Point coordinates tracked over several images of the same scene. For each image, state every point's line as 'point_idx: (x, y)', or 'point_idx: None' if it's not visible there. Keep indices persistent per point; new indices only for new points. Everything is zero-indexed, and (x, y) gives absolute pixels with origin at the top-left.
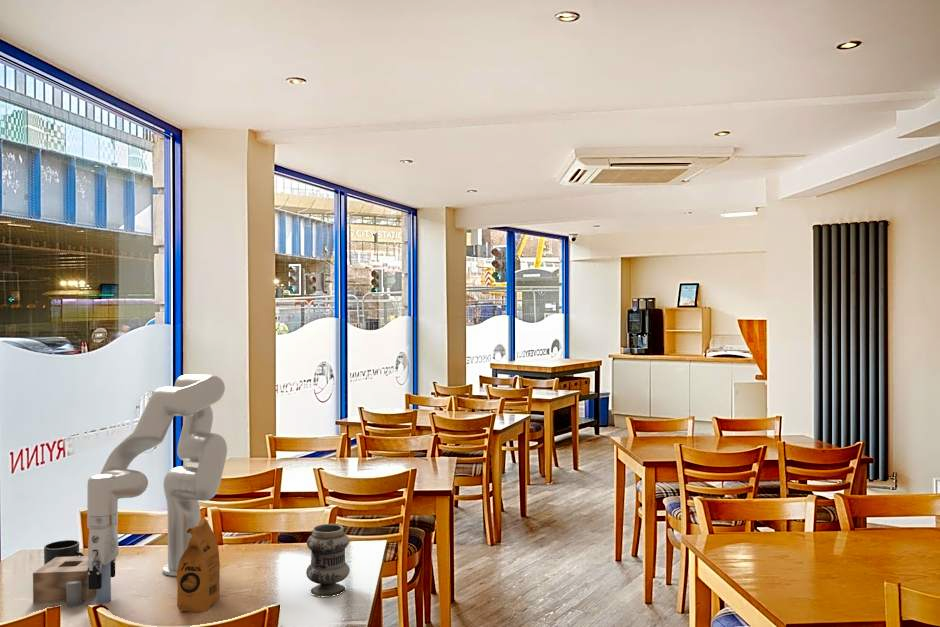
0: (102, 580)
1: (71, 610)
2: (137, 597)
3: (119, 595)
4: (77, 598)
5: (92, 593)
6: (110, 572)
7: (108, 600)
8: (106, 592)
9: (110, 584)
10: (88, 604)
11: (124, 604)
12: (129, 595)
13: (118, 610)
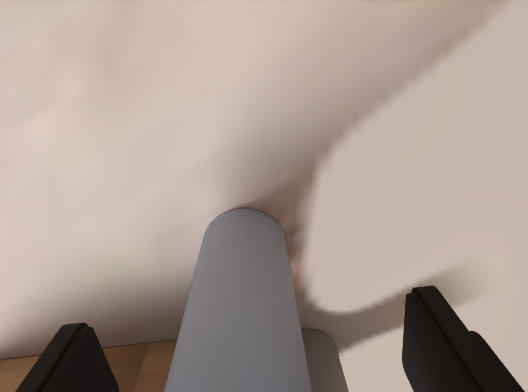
0: (302, 352)
1: (384, 328)
2: (163, 35)
3: (143, 195)
4: (332, 367)
5: (152, 347)
6: (206, 375)
7: (258, 214)
8: (274, 252)
9: (226, 274)
10: (303, 294)
11: (315, 71)
12: (132, 125)
13: (436, 56)
